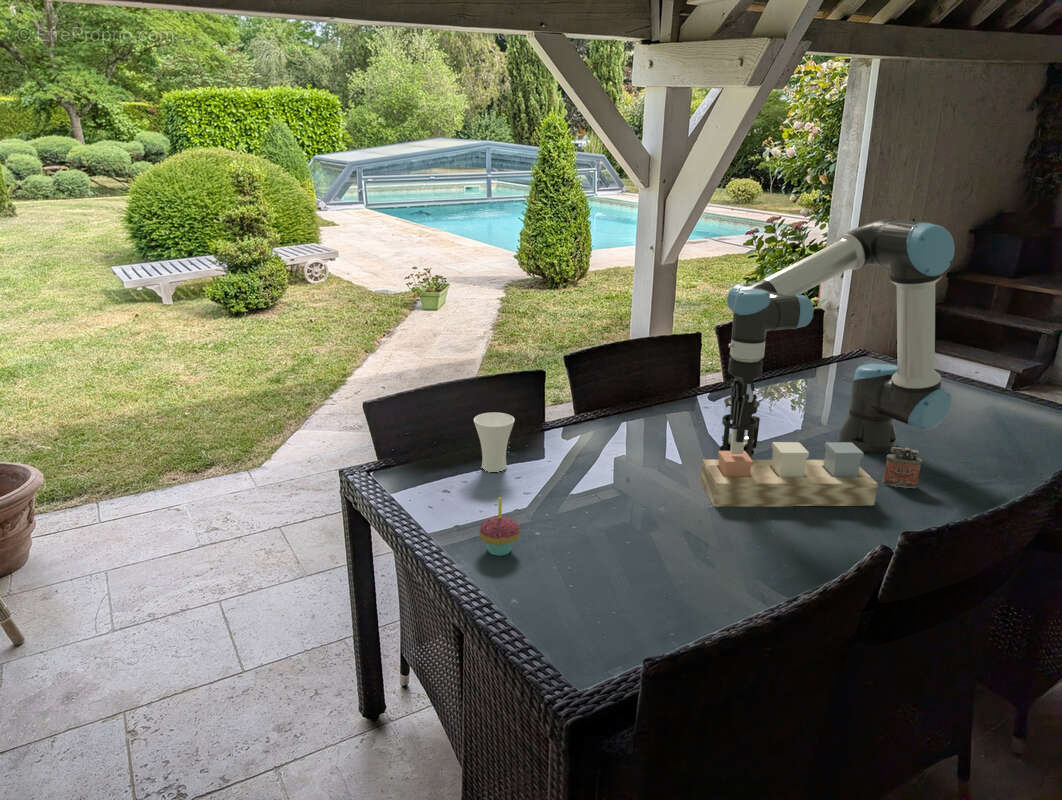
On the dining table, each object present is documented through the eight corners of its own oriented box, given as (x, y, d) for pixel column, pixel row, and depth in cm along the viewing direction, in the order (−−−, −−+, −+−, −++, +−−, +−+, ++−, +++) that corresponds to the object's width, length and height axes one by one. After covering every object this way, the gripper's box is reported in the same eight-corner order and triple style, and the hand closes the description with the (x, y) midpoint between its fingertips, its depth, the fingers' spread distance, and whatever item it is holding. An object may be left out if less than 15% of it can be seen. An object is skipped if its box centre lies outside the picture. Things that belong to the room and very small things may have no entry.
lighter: (916, 485, 194) (923, 448, 190) (917, 490, 190) (925, 453, 187) (881, 480, 196) (887, 443, 193) (882, 485, 193) (889, 448, 190)
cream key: (795, 466, 189) (799, 442, 187) (805, 477, 183) (809, 452, 181) (769, 466, 189) (772, 442, 187) (778, 477, 182) (781, 452, 180)
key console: (849, 481, 195) (852, 459, 193) (873, 506, 182) (877, 483, 180) (700, 481, 194) (702, 459, 192) (714, 506, 180) (716, 483, 178)
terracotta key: (742, 474, 189) (745, 450, 187) (750, 486, 183) (753, 461, 181) (715, 474, 189) (718, 450, 187) (722, 486, 183) (725, 461, 181)
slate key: (848, 466, 189) (851, 442, 187) (859, 477, 183) (863, 452, 181) (821, 466, 189) (825, 442, 187) (832, 477, 183) (836, 452, 181)
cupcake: (479, 540, 164) (478, 489, 160) (519, 539, 164) (519, 488, 160) (480, 561, 156) (479, 508, 152) (522, 560, 156) (522, 507, 152)
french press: (732, 471, 200) (742, 387, 192) (708, 458, 207) (716, 377, 200) (765, 463, 205) (775, 381, 198) (740, 451, 213) (749, 371, 206)
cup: (521, 464, 202) (521, 416, 198) (503, 479, 193) (503, 429, 189) (485, 457, 206) (485, 409, 202) (466, 471, 197) (465, 422, 193)
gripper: (722, 350, 182) (714, 442, 190) (738, 365, 170) (728, 463, 178) (753, 350, 182) (744, 442, 190) (771, 365, 170) (760, 463, 178)
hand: (736, 452), depth 184 cm, fingers closed
